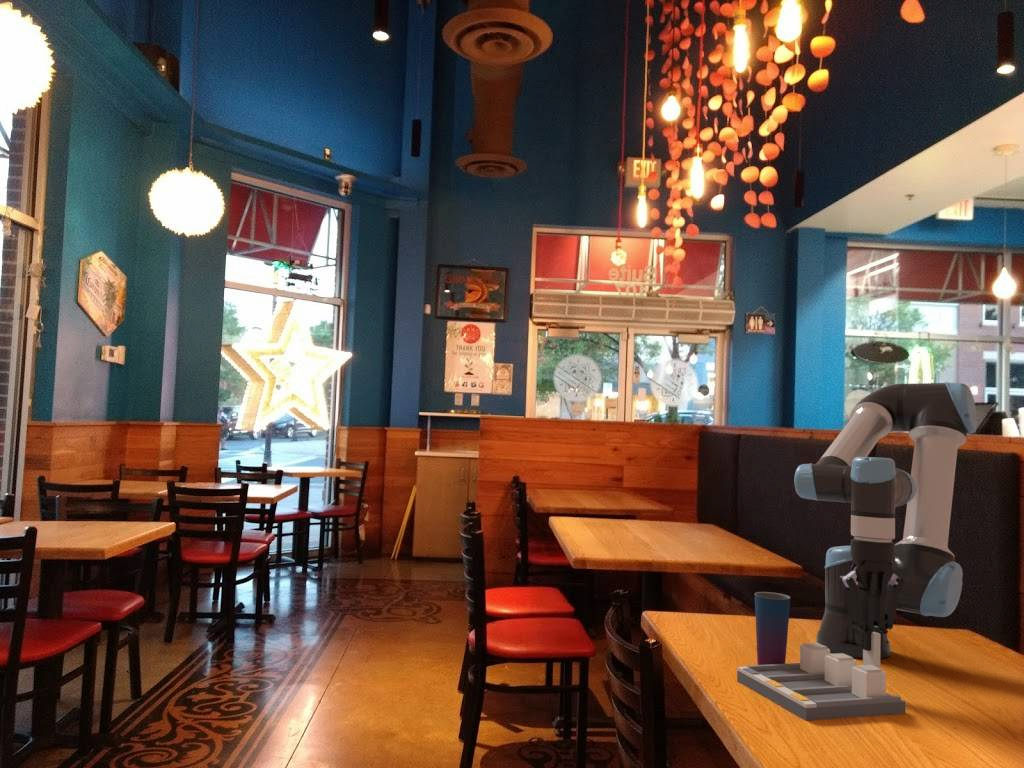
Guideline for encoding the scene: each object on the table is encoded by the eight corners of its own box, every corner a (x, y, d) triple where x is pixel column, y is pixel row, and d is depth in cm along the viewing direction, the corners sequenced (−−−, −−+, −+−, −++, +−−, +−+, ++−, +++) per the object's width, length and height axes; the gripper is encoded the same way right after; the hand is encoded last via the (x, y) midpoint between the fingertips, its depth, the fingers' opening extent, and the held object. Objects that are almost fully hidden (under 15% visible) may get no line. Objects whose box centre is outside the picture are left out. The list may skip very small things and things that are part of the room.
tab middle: (842, 679, 137) (842, 652, 137) (856, 685, 134) (856, 658, 134) (824, 680, 136) (824, 653, 136) (837, 686, 133) (837, 658, 133)
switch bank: (826, 676, 146) (826, 661, 146) (905, 713, 126) (905, 696, 127) (737, 681, 140) (737, 665, 140) (806, 720, 121) (806, 703, 121)
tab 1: (817, 667, 144) (817, 642, 144) (829, 673, 140) (830, 647, 141) (799, 668, 143) (800, 642, 143) (811, 674, 139) (812, 648, 140)
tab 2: (870, 692, 130) (870, 663, 131) (885, 699, 127) (885, 669, 127) (851, 693, 129) (851, 664, 130) (866, 700, 126) (866, 671, 126)
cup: (791, 679, 143) (793, 600, 144) (754, 675, 144) (756, 597, 145) (786, 668, 149) (787, 593, 150) (751, 665, 151) (752, 590, 152)
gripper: (885, 537, 144) (885, 661, 142) (829, 536, 140) (827, 663, 138) (916, 542, 137) (916, 673, 135) (858, 541, 133) (856, 675, 131)
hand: (871, 667), depth 137 cm, fingers closed
